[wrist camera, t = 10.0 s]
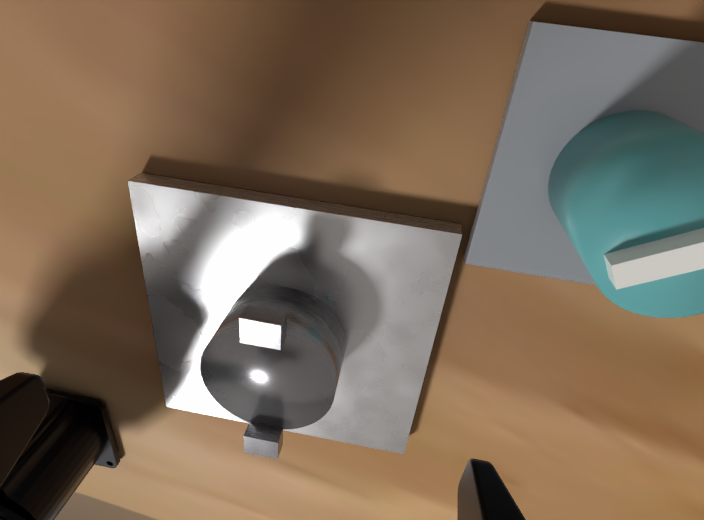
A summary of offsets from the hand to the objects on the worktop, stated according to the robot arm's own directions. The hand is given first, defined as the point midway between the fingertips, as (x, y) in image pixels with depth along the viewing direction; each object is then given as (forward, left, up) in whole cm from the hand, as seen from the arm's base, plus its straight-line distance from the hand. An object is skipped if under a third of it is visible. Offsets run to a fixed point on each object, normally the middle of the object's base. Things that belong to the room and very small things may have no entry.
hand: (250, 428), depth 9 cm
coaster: (+3, -10, -11) cm, 15 cm away
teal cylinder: (+3, -10, -11) cm, 15 cm away
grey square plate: (-7, +2, -11) cm, 13 cm away
